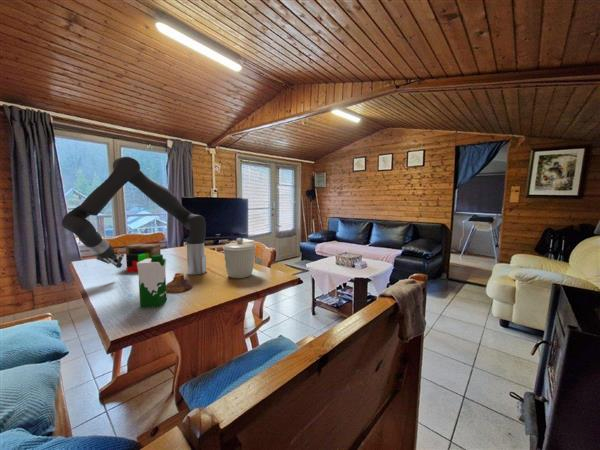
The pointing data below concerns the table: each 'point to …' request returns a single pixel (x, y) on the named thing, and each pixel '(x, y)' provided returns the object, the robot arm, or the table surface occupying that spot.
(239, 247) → the canister
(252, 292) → the table surface
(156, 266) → the milk carton
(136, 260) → the puzzle toy
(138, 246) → the brown wooden box
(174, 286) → the bell
